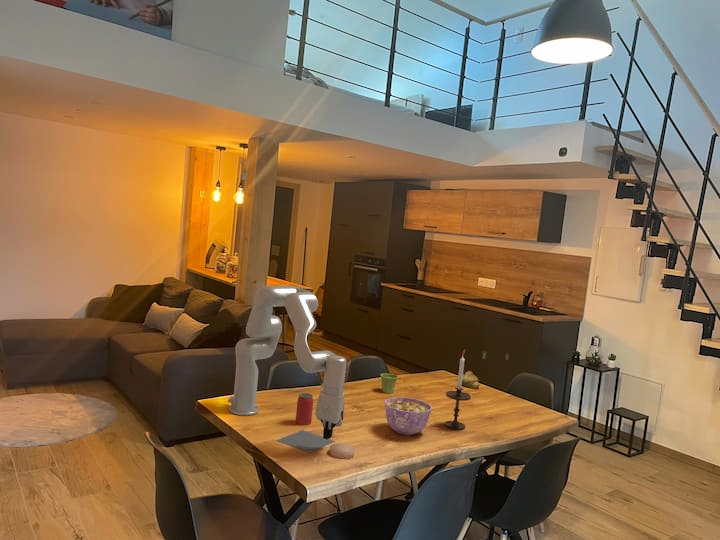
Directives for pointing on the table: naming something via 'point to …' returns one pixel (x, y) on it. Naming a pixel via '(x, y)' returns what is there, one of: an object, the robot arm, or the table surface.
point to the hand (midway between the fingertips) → (327, 437)
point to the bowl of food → (407, 414)
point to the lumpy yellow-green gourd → (470, 380)
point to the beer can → (304, 409)
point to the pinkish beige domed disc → (342, 450)
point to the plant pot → (388, 382)
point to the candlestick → (457, 399)
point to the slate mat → (305, 441)
